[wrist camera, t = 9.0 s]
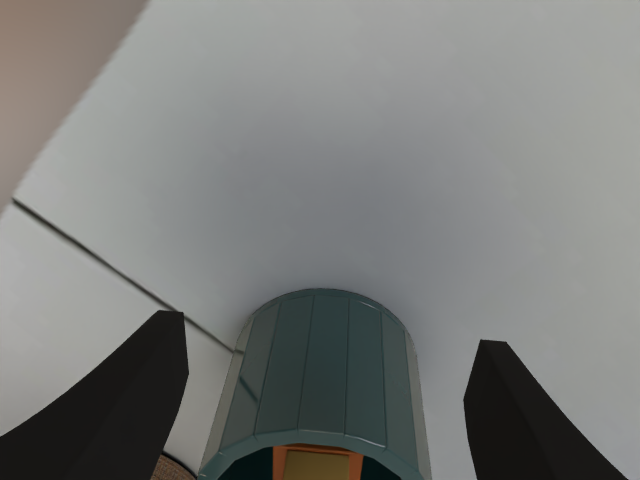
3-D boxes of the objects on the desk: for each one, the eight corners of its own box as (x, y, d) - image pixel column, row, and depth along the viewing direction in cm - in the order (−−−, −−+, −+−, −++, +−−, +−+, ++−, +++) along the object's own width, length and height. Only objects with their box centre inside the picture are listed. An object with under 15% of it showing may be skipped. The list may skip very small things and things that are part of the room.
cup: (402, 428, 27) (415, 585, 21) (237, 413, 27) (199, 563, 21) (431, 297, 23) (457, 444, 17) (234, 279, 23) (185, 418, 17)
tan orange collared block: (363, 337, 24) (359, 377, 25) (291, 332, 24) (290, 371, 25) (364, 508, 17) (357, 550, 18) (263, 498, 17) (263, 541, 18)
